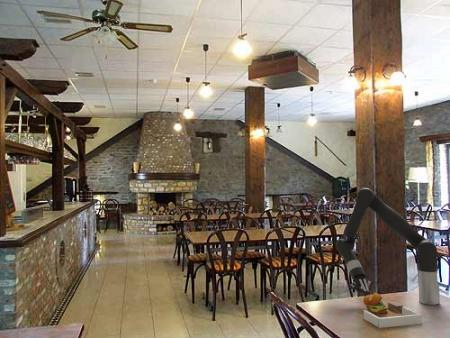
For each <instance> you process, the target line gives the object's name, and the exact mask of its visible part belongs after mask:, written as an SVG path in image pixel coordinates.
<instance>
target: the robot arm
mask: <svg viewBox="0 0 450 338" xmlns="http://www.w3.org/2000/svg"><path fill="white" fill-rule="evenodd" d="M368 208H369V209H370V210H372V211H373V212H374V213H375V214H376V215H377V217H378V218H379V219H380V220H381V221H382V223H384V225H386V226H387V227H388V228H389V229H390V230H392V231H393V232H394V233H395V234H397V235H398V236H399V237H401V238H402V239H404V240H405V241H406V242H408V243H409V244H410V245H411V246H412V248H413V249H414V250H415V251H416V252H417V253H418V254H417V260H418V261H417V262H418V263H417V279H418V280H417V281H418V282H417V285H418V286H417V287H418V302H419V303H420V304H423V305H428V306H429V305H430V306H435V305H439V304H440V303H441V299H440V298H441V295H440V285H439V284H438V248H437V246H436V245H435V243H433V242H432V241H430V240H429V239H427V238H426V237H425V236H423V235H421V234H420V233H419V232H418V231H417V230H415V229H414V227H413V226H412V224H410V223H409V222H408V221H407V220H406V219H405V217H403V216H402V215H401V214H399V213H398V212H397V211H396V210H395V209H393V208H392V207H390V206H389V205H387V204H386V203H384V201H382V200H381V199H380V198H379V197H378V196H377V195H376V194H375V192H374V191H373V190H372V188H368V187H362V188H360V189H359V190H358V191H357V194H356V201H355V205H354V208H353V211H352V213H351V215H350V217H349V219H348V220H347V223H346V225H345V227H344V230H343V234H344V236H346V239H344V238H338V239H337V240H336V242H335V248H336V251H337V252H338V253H339V255H340V256H341V258H342V259H343V261H344V263H345V265H346V268H347V271H348V273H349V276H350V277H351V280H352V283H351V285H350V287H351V288H352V289H354V290H355V291H357V293H359V294H360V293H361V294H362V295H363V298H364V297H365V296H367V295H370V294H371V293H370V292H371V291H372V289H373V285H374V281H372V280H371V281H370V280H369V279H368V278H367V276H366V273H365V270H364V267H363V265H361V262H360V261H359V259H358V256H357V254H355V253H354V252H353V251H354V249H355V246H356V245H355V244H356V240H357V239H356V238H357V235H358V232H359V230H360V227H361V224H362V222H363V217H364V216H365V213H366V212H367V209H368Z"/></svg>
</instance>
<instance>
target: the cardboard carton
mask: <svg viewBox="0 0 450 338" xmlns="http://www.w3.org/2000/svg"><path fill="white" fill-rule="evenodd" d="M402 307H404V305H403V304H401V303H399V302H397V301H388V302H387V308H388V309H389V310H391V311H394V312H395V313H402Z"/></svg>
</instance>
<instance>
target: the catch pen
mask: <svg viewBox="0 0 450 338" xmlns="http://www.w3.org/2000/svg"><path fill="white" fill-rule="evenodd" d="M401 313H402V315H396V316H387V317H379V316H377V315H375V314H374V313H372V312H370V311H368V310H367V309H363V319H364V320H365V321H367V322H369V323H371V324H372V325H374V326H375V327H377V328H378V329H382V328H391V327H403V326H411V325H422V324H423V315H422V314H421V313H419V312H417V311H415V310H412V309H410V308H408V307H406V306H403V307H402V312H401Z"/></svg>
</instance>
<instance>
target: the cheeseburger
mask: <svg viewBox="0 0 450 338" xmlns="http://www.w3.org/2000/svg"><path fill="white" fill-rule="evenodd" d="M362 302H363V304H364V305H365V308H366V310H367V311H368V312H370V313H372V314H377V315H378V314H384V313H387V311H388V309H389V308H388V305H387V303H385V301H383V296H382V295H381V294H379V293H377V292H374V293H370V295H367V296H365V297H364V296H363V301H362Z"/></svg>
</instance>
